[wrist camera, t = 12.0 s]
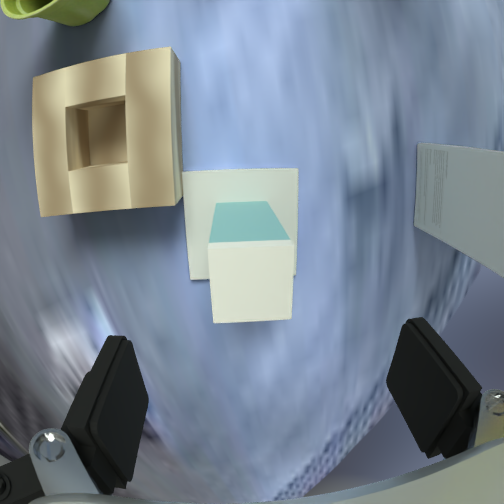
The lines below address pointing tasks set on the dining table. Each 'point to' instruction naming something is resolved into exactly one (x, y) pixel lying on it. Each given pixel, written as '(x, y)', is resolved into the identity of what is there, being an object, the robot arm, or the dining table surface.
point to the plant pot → (55, 10)
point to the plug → (249, 264)
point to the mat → (235, 190)
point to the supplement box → (462, 200)
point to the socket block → (109, 134)
